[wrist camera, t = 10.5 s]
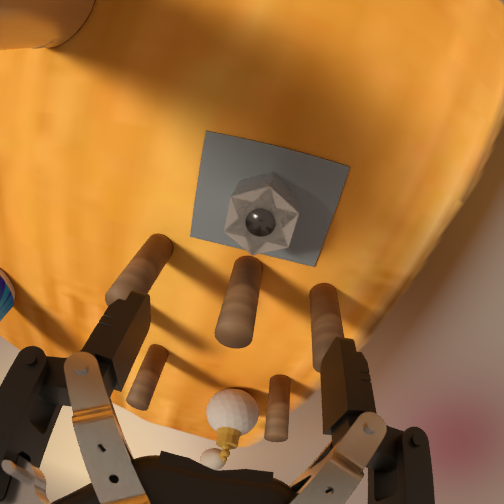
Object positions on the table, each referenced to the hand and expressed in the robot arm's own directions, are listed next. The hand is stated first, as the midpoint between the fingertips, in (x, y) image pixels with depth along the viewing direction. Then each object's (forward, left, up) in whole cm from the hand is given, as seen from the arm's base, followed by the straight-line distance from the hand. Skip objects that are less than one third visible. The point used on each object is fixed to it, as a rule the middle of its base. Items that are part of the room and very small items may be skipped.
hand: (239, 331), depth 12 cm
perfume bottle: (+31, +3, -16) cm, 35 cm away
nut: (0, 0, -15) cm, 15 cm away
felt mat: (0, 0, -15) cm, 15 cm away
